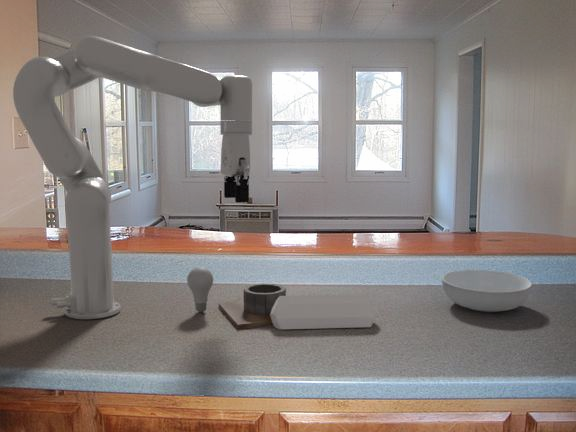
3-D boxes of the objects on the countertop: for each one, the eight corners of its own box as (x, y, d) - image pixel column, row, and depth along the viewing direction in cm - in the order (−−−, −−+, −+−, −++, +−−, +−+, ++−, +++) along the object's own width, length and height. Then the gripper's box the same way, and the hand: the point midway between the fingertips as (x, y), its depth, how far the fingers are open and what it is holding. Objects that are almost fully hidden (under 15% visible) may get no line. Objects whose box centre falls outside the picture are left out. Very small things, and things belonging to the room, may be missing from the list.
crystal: (372, 300, 151) (269, 303, 150) (378, 292, 144) (270, 295, 143) (375, 332, 148) (269, 335, 147) (381, 326, 142) (270, 328, 140)
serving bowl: (434, 314, 153) (435, 285, 152) (447, 292, 172) (448, 266, 171) (528, 324, 145) (530, 294, 144) (532, 300, 164) (533, 273, 163)
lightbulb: (209, 317, 151) (208, 270, 149) (184, 315, 152) (182, 269, 150) (217, 309, 157) (216, 264, 155) (193, 308, 158) (192, 263, 156)
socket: (238, 329, 142) (237, 302, 141) (218, 307, 159) (218, 283, 158) (314, 320, 148) (314, 294, 147) (288, 300, 165) (288, 276, 164)
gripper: (211, 128, 162) (212, 196, 165) (231, 129, 146) (231, 204, 149) (240, 128, 165) (240, 195, 167) (262, 129, 149) (262, 203, 151)
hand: (236, 199), depth 158 cm, fingers open, 9 cm apart
